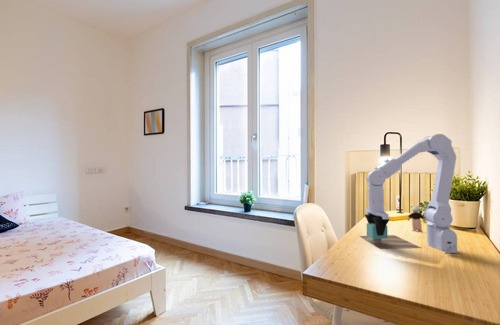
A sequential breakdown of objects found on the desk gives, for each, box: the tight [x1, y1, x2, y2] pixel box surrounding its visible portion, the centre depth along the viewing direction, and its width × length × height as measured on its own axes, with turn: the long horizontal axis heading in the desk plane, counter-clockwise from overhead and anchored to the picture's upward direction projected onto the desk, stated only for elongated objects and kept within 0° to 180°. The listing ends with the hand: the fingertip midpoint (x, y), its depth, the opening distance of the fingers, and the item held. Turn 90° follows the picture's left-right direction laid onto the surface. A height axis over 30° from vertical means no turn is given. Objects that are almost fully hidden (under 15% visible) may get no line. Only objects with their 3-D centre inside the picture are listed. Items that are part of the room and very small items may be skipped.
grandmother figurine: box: [406, 205, 427, 233], centre depth 127 cm, size 8×4×13 cm, turn 84°
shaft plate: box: [359, 234, 422, 250], centre depth 108 cm, size 18×16×4 cm
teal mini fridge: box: [366, 222, 388, 239], centre depth 107 cm, size 5×6×5 cm
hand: (376, 233), depth 107 cm, fingers closed on teal mini fridge, 5 cm apart
